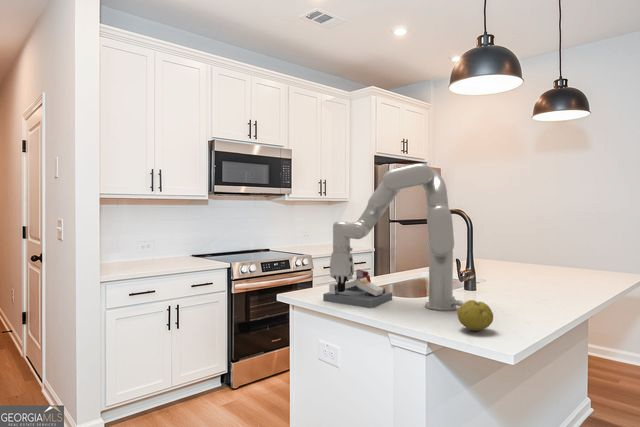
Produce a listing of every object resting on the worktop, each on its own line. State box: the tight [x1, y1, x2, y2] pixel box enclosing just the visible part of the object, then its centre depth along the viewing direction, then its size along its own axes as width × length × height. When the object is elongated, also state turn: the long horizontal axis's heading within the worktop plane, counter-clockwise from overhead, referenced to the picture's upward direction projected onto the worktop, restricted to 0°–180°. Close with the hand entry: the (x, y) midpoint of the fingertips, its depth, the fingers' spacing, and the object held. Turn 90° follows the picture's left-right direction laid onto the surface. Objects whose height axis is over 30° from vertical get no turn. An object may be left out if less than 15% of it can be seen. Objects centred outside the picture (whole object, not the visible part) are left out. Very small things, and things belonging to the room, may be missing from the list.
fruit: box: [456, 299, 494, 332], centre depth 142 cm, size 11×12×10 cm
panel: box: [322, 286, 393, 309], centre depth 188 cm, size 24×20×5 cm
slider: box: [328, 282, 339, 294], centre depth 187 cm, size 3×4×4 cm
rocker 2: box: [357, 280, 384, 296], centre depth 185 cm, size 10×6×3 cm, turn 56°
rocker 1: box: [345, 277, 367, 288], centre depth 196 cm, size 10×6×3 cm, turn 56°
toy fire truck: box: [355, 269, 372, 289], centre depth 207 cm, size 7×12×10 cm, turn 24°
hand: (341, 291), depth 185 cm, fingers closed
